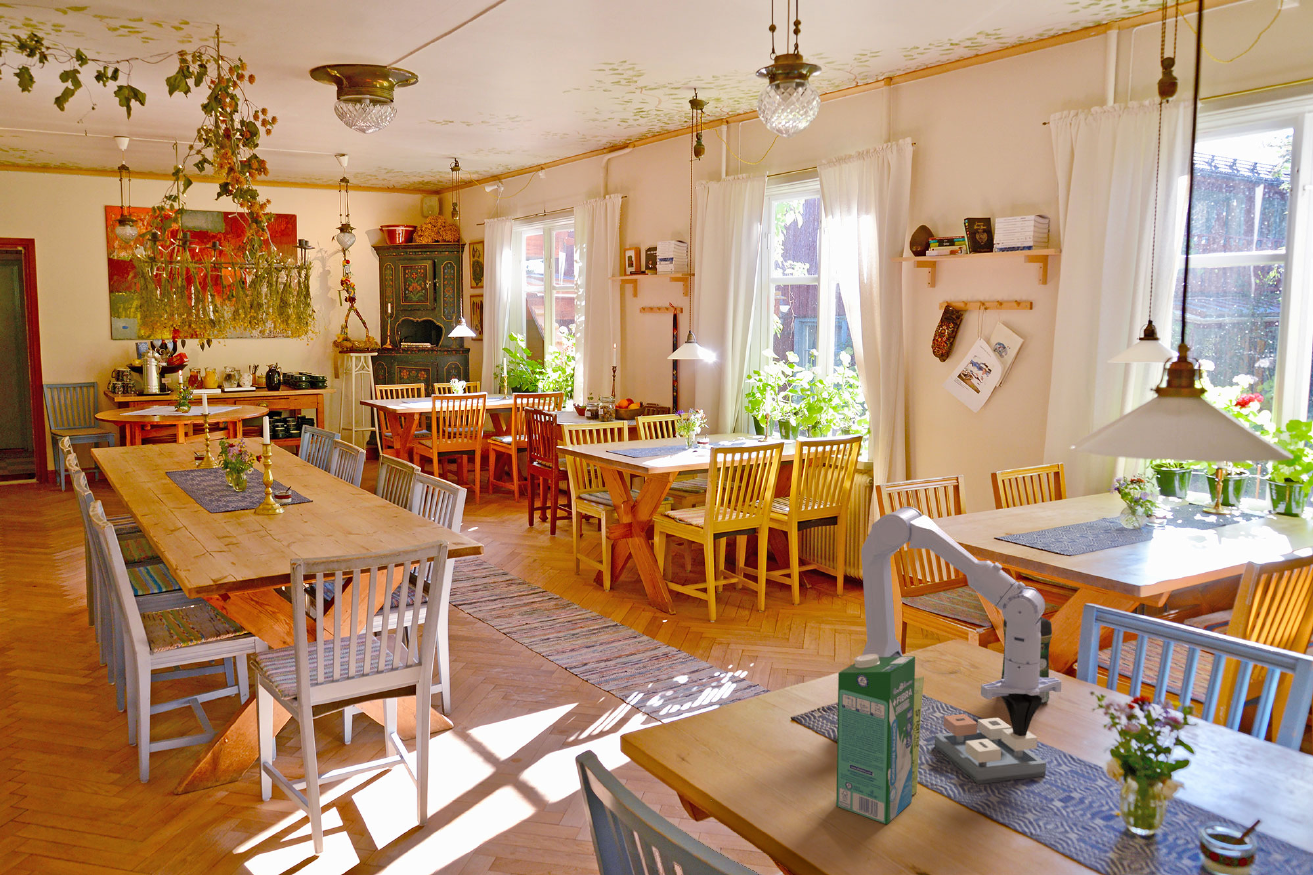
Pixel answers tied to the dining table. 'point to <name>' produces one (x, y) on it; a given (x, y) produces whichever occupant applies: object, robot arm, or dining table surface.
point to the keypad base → (995, 770)
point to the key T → (1019, 741)
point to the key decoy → (960, 726)
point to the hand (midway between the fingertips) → (1019, 733)
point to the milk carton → (875, 736)
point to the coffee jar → (1044, 653)
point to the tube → (916, 729)
